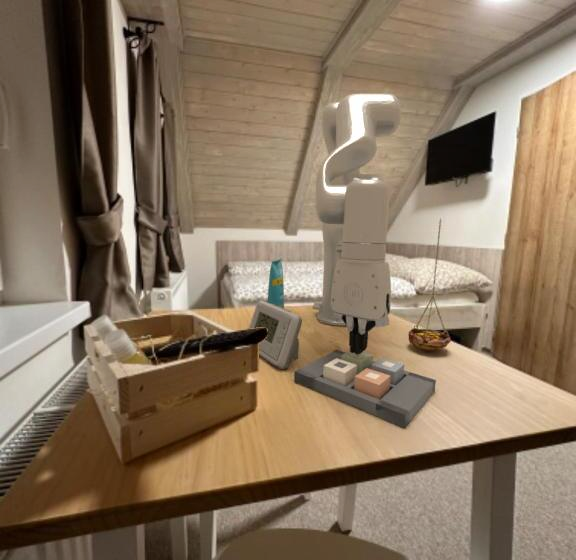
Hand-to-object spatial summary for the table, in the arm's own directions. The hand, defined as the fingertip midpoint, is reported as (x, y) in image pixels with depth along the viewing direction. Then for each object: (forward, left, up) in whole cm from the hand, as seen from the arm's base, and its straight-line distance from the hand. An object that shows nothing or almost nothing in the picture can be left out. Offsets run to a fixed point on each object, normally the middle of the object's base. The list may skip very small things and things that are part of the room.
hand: (357, 351), depth 60 cm
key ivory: (0, -6, -3) cm, 7 cm away
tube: (-28, +8, -5) cm, 30 cm away
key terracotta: (+6, -6, -3) cm, 9 cm away
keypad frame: (+3, -3, -5) cm, 6 cm away
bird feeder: (+6, +23, -5) cm, 24 cm away
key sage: (0, 0, -3) cm, 3 cm away
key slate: (+6, 0, -3) cm, 7 cm away
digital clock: (-18, -4, -5) cm, 20 cm away
